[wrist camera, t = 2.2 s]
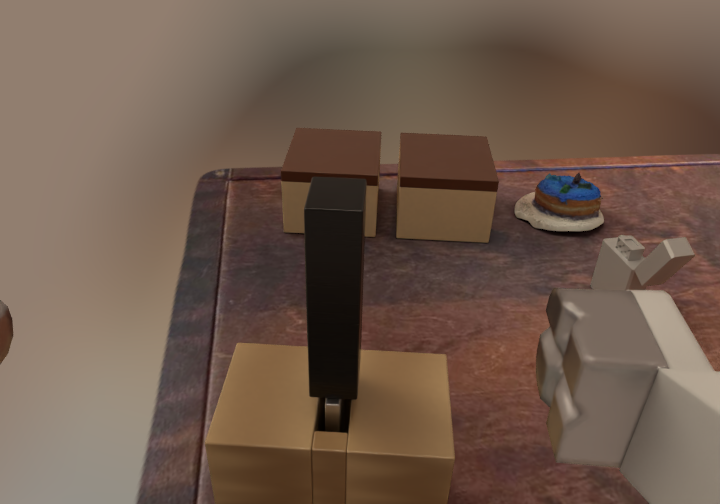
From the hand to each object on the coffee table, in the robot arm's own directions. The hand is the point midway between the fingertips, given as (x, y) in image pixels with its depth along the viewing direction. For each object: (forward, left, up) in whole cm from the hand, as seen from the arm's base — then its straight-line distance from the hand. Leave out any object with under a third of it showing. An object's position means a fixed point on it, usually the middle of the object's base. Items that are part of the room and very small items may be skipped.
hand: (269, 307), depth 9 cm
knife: (0, +12, -24) cm, 27 cm away
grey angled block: (+20, +31, -24) cm, 44 cm away
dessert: (+18, +45, -24) cm, 54 cm away
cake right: (+7, +44, -24) cm, 50 cm away
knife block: (0, +12, -24) cm, 27 cm away
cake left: (-3, +44, -24) cm, 50 cm away
